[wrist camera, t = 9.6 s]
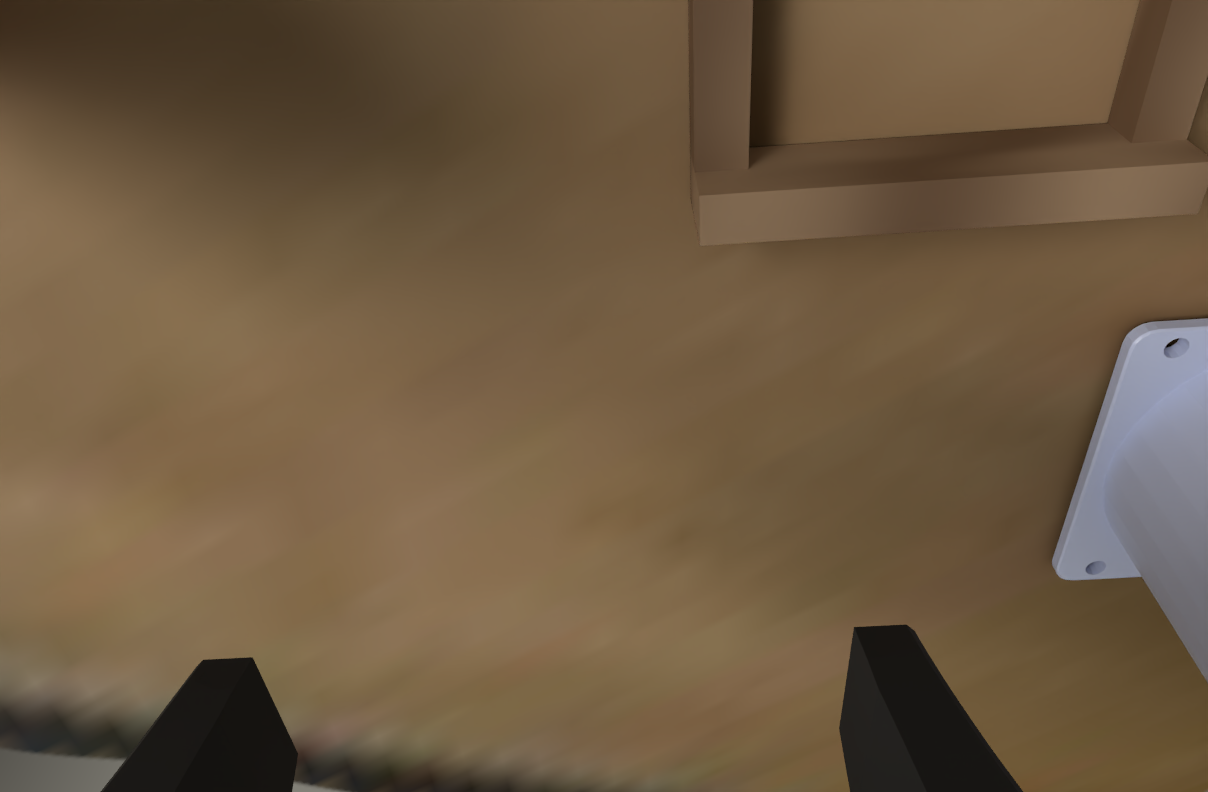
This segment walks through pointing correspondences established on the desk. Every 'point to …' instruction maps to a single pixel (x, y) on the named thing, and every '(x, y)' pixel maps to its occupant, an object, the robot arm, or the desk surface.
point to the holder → (947, 150)
